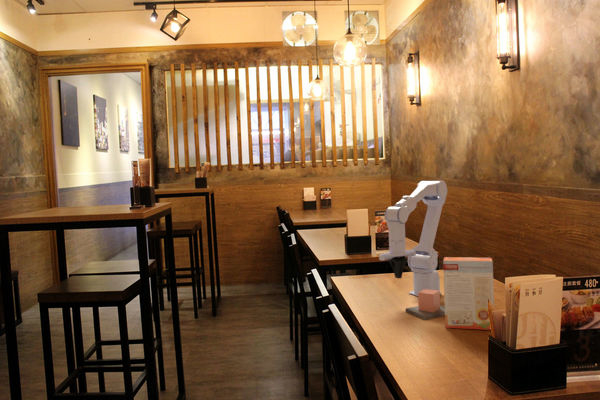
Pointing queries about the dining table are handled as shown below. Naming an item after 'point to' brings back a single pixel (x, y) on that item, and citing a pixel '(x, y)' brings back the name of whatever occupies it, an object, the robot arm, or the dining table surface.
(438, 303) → the peach wooden cube
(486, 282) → the cracker box
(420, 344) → the dining table surface
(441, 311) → the post board
